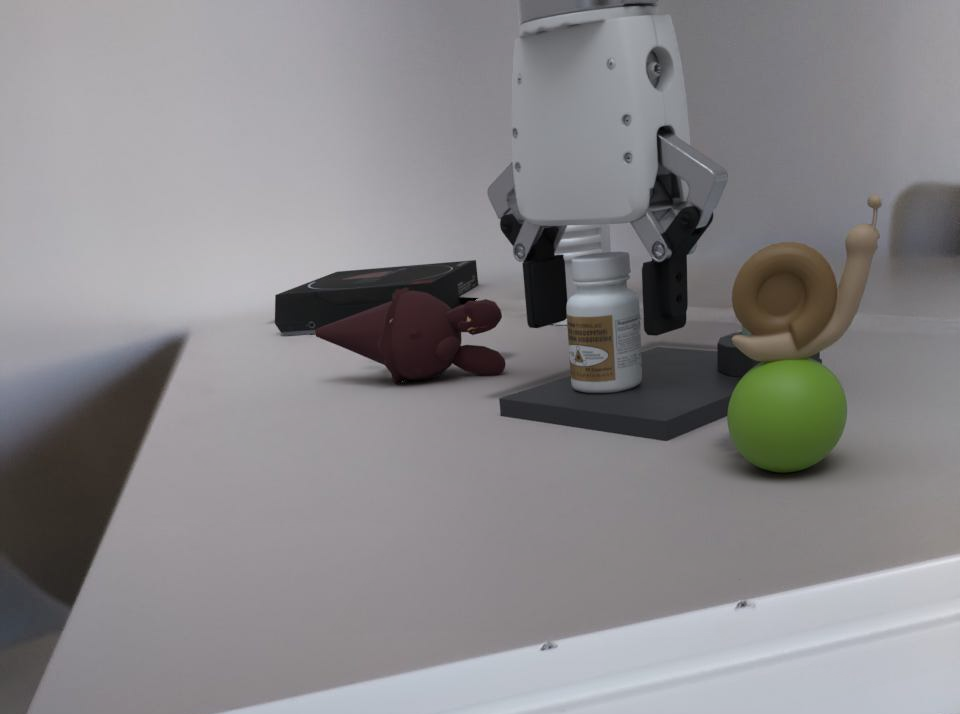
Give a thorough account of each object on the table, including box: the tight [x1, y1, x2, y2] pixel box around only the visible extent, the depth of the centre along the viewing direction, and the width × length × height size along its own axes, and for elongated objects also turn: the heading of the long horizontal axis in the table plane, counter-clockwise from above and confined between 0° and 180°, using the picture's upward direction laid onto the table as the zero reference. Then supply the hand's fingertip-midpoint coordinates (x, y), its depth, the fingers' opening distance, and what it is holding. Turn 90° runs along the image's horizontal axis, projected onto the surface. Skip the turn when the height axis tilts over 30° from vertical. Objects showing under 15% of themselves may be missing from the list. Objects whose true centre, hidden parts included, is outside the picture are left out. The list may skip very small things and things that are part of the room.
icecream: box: [314, 287, 506, 385], centre depth 77 cm, size 7×7×15 cm
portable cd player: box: [274, 259, 479, 337], centre depth 109 cm, size 16×17×4 cm
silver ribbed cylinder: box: [553, 224, 612, 326], centre depth 92 cm, size 7×7×15 cm
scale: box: [498, 331, 823, 442], centre depth 64 cm, size 16×14×3 cm
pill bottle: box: [566, 251, 642, 393], centre depth 63 cm, size 4×4×8 cm
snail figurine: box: [726, 193, 883, 474], centre depth 47 cm, size 5×6×12 cm
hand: (604, 326), depth 63 cm, fingers open, 8 cm apart
